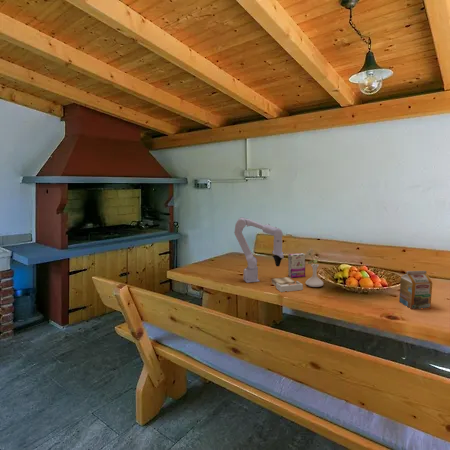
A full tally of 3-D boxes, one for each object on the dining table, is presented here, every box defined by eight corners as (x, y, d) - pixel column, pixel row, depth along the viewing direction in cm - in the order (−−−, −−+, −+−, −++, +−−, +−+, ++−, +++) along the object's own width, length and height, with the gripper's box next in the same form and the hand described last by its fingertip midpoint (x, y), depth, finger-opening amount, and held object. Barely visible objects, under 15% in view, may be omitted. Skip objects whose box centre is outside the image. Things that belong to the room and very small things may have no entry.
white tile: (280, 284, 203) (280, 287, 203) (283, 287, 198) (283, 290, 199) (287, 284, 204) (287, 287, 204) (290, 286, 199) (290, 289, 200)
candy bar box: (302, 275, 233) (302, 252, 230) (305, 277, 228) (305, 254, 226) (287, 276, 230) (288, 253, 228) (290, 278, 225) (291, 255, 223)
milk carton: (417, 301, 179) (420, 268, 176) (430, 308, 168) (433, 273, 166) (399, 301, 179) (401, 268, 176) (410, 309, 168) (413, 274, 166)
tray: (281, 292, 197) (281, 286, 197) (276, 288, 205) (276, 282, 204) (302, 289, 201) (302, 284, 200) (297, 286, 208) (297, 280, 208)
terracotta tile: (288, 283, 204) (288, 286, 205) (291, 286, 200) (291, 289, 200) (295, 283, 205) (295, 286, 206) (298, 285, 201) (298, 288, 201)
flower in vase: (316, 282, 216) (317, 245, 212) (327, 287, 205) (328, 248, 202) (299, 284, 211) (300, 247, 208) (310, 289, 201) (311, 250, 197)
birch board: (277, 287, 206) (277, 283, 205) (271, 283, 215) (271, 278, 215) (294, 286, 208) (295, 281, 208) (288, 281, 218) (288, 277, 218)
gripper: (287, 248, 210) (287, 268, 212) (279, 244, 224) (278, 263, 226) (277, 248, 208) (277, 269, 210) (269, 244, 222) (269, 263, 224)
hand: (277, 266), depth 218 cm, fingers closed
